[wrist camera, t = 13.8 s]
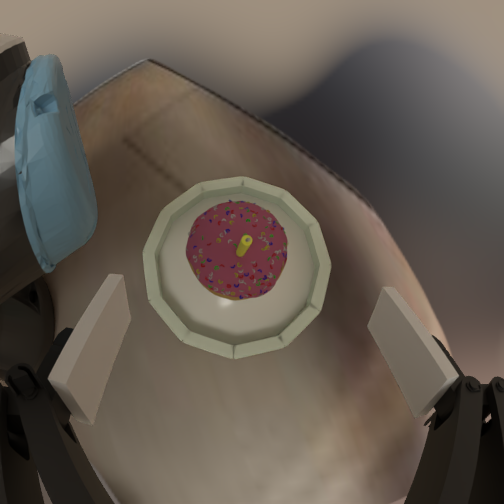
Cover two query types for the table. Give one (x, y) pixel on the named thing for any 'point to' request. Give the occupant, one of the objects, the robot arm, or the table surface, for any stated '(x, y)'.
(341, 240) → the table surface
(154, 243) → the rimmed plate
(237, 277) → the cupcake
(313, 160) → the table surface
